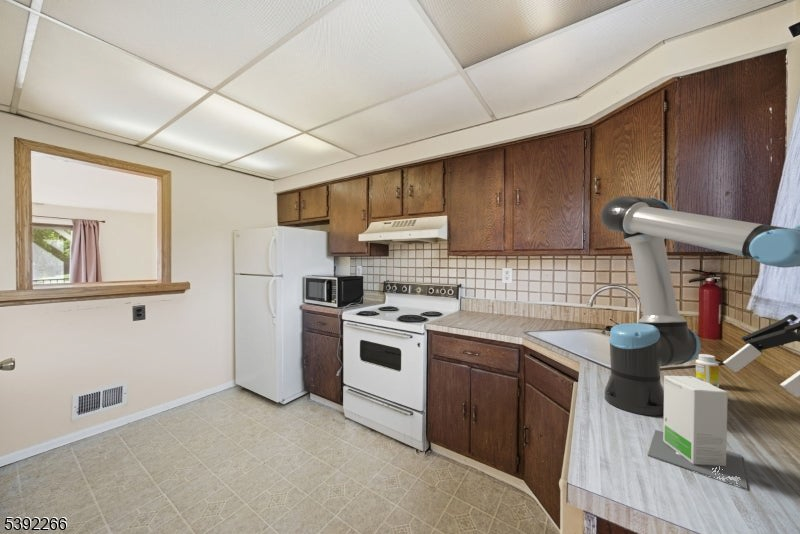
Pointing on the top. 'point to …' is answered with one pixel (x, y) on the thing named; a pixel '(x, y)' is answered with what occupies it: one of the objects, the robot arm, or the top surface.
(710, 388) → the skincare box
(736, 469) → the mat
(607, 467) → the top surface
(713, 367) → the supplement bottle
